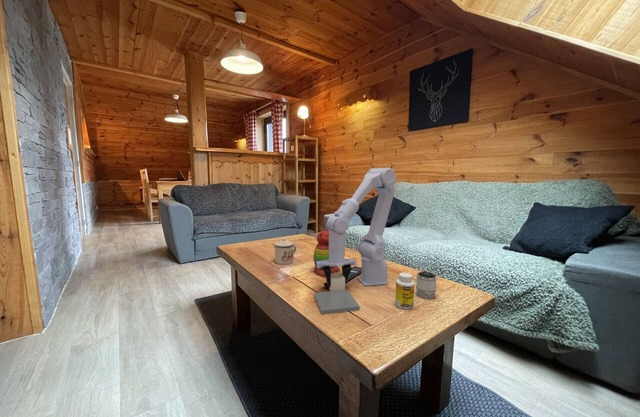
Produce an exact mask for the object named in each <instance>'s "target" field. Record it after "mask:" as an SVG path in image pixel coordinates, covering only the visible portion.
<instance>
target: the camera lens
mask: <svg viewBox="0 0 640 417" xmlns="http://www.w3.org/2000/svg"><path fill="white" fill-rule="evenodd" d="M415 284H416V285H415V286H416V287H415V288H416V289H415V290H416V296H418V297H419V298H421V297H422V299H425V298H427V299H426V300H430V299H429V298H432V299H434V298H435V296H436V291H437V290H436V289H437V275H435V274H434V273H432V272H429V271H420V272H417V274H416V283H415ZM433 297H434V298H433Z"/></svg>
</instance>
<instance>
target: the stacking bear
mask: <svg viewBox="0 0 640 417" xmlns="http://www.w3.org/2000/svg"><path fill="white" fill-rule="evenodd" d="M316 240H317V244H316V245H315V247H314V251H313V263H314V269H313V272H314V273H315V275H318V276H320V277H324V278H326V276H325V274H324V271H323V269H322V267H320V268H317V267H316V261H323V260H328V259H329V230H328V229H326V230H321V231H320V232H318V233H317V235H316ZM330 270H331V274H334V273H340V266H338V267H337V266H334V267H330Z"/></svg>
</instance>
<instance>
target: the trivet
mask: <svg viewBox="0 0 640 417" xmlns="http://www.w3.org/2000/svg"><path fill="white" fill-rule="evenodd" d="M313 297H314V299H315V301H316V304H317V307H318V309H319V311H320V313H321V315H327V314H336V313H337V314H338V313H339V314H340V313H345V312H346V313H347V312H353V311H354V312H355V311H356V312H357V311H360V310H361V306H360V305H359V303H358V302H357V301H356V299H355V298H354V297H353V295H352V293H351V292H350V291H349V290H348V289H345V290H341V291H330V290H329V291H321V292H314V293H313Z"/></svg>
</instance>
